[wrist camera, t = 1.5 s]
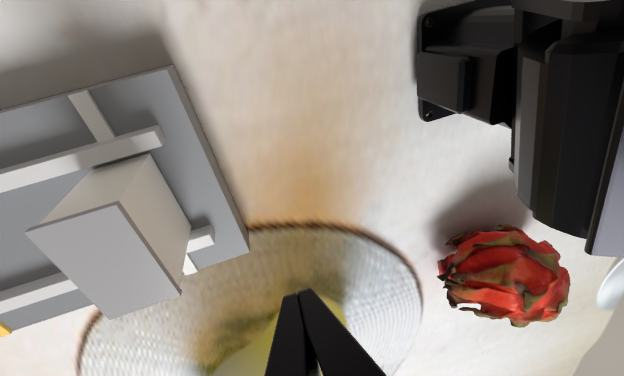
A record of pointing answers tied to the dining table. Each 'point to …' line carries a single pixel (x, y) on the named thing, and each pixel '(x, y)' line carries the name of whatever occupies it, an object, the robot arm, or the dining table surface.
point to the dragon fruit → (505, 276)
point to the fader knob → (118, 237)
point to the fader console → (94, 154)
